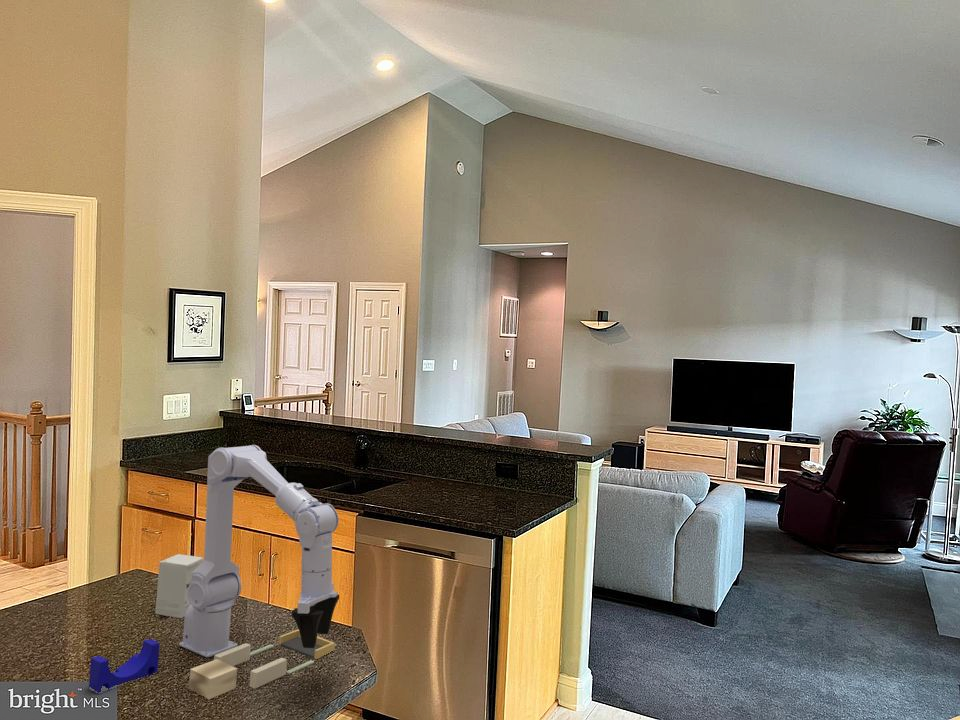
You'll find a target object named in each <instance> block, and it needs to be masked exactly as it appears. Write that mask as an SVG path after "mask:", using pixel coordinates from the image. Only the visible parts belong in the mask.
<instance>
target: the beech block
mask: <svg viewBox="0 0 960 720" xmlns="http://www.w3.org/2000/svg"><path fill="white" fill-rule="evenodd" d="M189 669H190V670H189V679H188V680H189V682H188V690H189V689H190V690H189V691H192V692H193V691H194V693H195V692H196V693H195V694H197V695H200V696H202V697H203V696H204V697H203V698H205V699H207V700H211V699H214V698H216V697H219V696H220V695H223V694H225V693H227V692H231V691H232V690H235V689H237V679H238V678H237V676H238V675H237V674H238V668H237V667H235V666H231V665H229V664H227V663H224V662H222V661H220V660H218V659H216V660H214V659H213V660H211V661H209V662H205V663H203V664H201V665H197V666H195V667H192V668H189Z"/></svg>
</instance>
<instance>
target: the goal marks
mask: <svg viewBox="0 0 960 720" xmlns="http://www.w3.org/2000/svg"><path fill="white" fill-rule="evenodd" d="M274 647H275V645H273V644H268V645H265V646H263V647H260V648H258V649H255V650H252V651H251V652H250V657H252V656H255V655H257V654H260V653H262V652H265V651H267V650H270V649H272V648H274ZM313 664H315V661H313V660H311V659H310V660H309V661H306V662H304V663H302V664H299V665H297V666H295V667H292V668H291V669H289V670H286V674H288V675H291V674H294V673H296V672H298V671H300V670H302V669H304V668H306V667H308V666H311V665H313Z"/></svg>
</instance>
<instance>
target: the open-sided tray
mask: <svg viewBox="0 0 960 720" xmlns="http://www.w3.org/2000/svg"><path fill="white" fill-rule="evenodd" d="M278 645H279V646H281V647H283V648H286V649H289V650H292V651H294V652H296V653H299V654H301V655H303V656H306V657H309V658H312V659H315V660H317V659H319V658H322V657H325V656H327V655H328V653H329V654H331V653H332V652H331V651H333V650H334V651H335V646H336V643H335V642H333V641H331V640H328V639H325V638H323V637H321V636H318V635H317V640H316V645H315V647H314V648H303V644H302V640H301V636H300V632H299V628H297V629H294V630H292V631H290V632H288V633H284V634H282V635H280V636H279V637H278ZM334 651H333V652H334ZM330 652H331V653H330ZM326 654H327V655H326ZM324 655H325V656H324Z"/></svg>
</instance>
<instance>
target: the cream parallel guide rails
mask: <svg viewBox="0 0 960 720" xmlns="http://www.w3.org/2000/svg"><path fill="white" fill-rule="evenodd" d="M251 648H252V645H251V644H249V643H247V642H244V643H242V644H240V645H237V647H234V648H231V649H229V650H226V651H224V652H221V653H218V654H216V655H213V656H214V657H213V660H216V659H218V660H220V661H222V662H224V663H227V664H229V665H231V666H233V667H235V666H237V665H240V664H242V663H244V662H247V661H249V660H251V656H250V652H252V651H251V650H252V649H251ZM287 664H288V660H287V659H286V658H284V657H280V658H278V659H274V660H273V661H271V662H268V663H265V664H263V665H261V666H258V667H256V668H253V669H252V670H250V675H249V687H250V688H251V689H252V688H253V689H258V688H259V687H261V686H264V685H266V684H268V683H271V682H272V681H275V680H276V679H280V678H282V677H284V676H286V674H287V673H286V671H287Z"/></svg>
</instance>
